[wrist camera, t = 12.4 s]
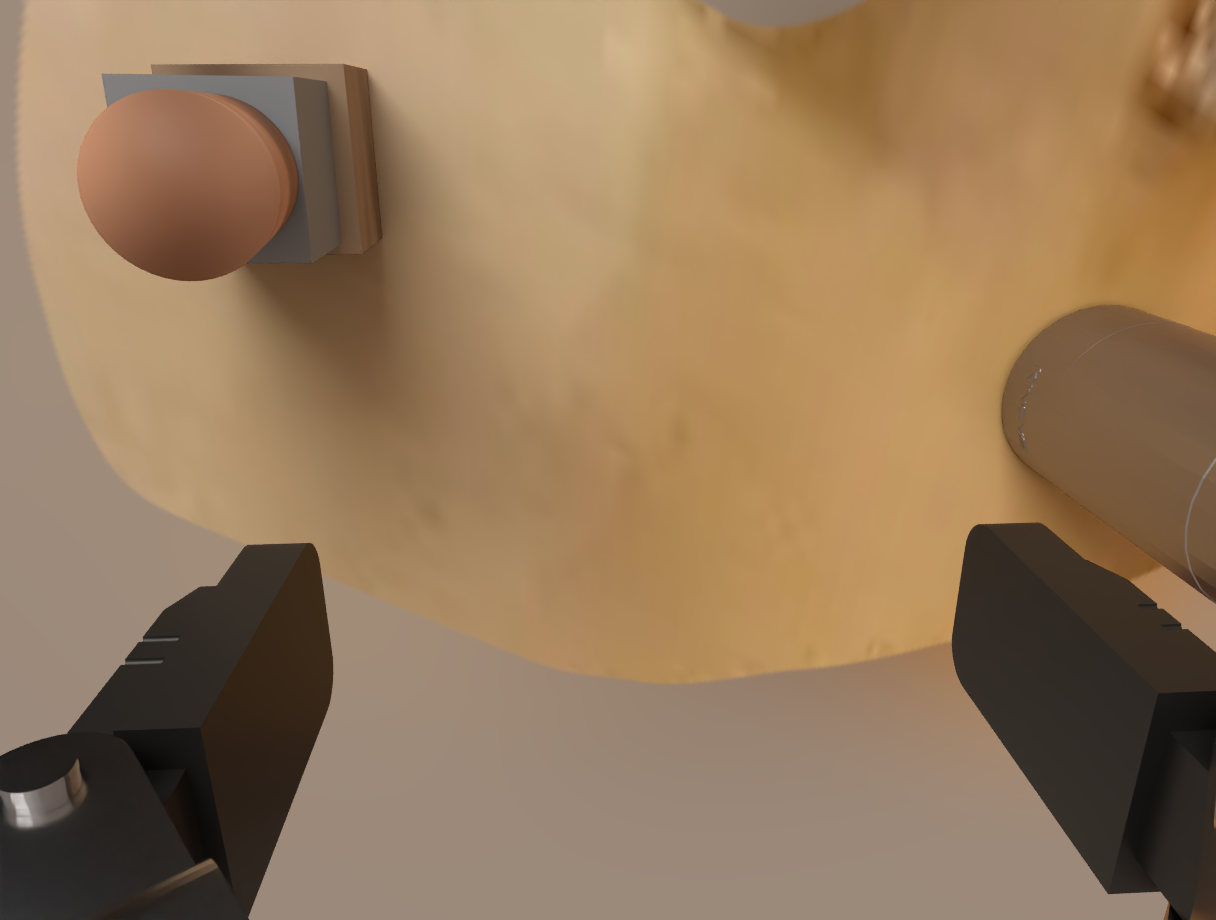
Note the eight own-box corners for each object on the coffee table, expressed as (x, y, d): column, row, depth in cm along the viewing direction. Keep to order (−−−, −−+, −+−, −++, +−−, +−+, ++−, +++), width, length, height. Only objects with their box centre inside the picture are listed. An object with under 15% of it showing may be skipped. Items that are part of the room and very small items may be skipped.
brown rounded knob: (303, 109, 30) (282, 109, 25) (293, 261, 32) (271, 292, 26) (137, 79, 29) (76, 71, 23) (135, 239, 30) (77, 266, 25)
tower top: (326, 81, 34) (292, 76, 30) (341, 243, 36) (312, 263, 32) (162, 78, 34) (101, 73, 29) (186, 243, 36) (134, 263, 31)
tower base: (367, 69, 39) (343, 64, 34) (382, 237, 41) (362, 253, 37) (198, 70, 38) (150, 64, 34) (224, 240, 41) (183, 256, 36)
